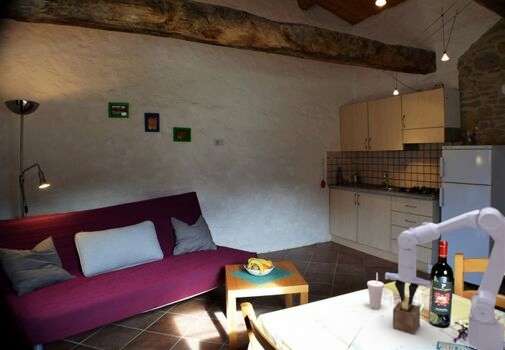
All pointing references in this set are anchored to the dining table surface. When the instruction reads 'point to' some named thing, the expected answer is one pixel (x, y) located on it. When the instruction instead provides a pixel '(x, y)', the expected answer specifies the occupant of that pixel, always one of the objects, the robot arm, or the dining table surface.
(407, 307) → the brass token
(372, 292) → the smoothie
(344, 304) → the dining table surface
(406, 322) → the box
